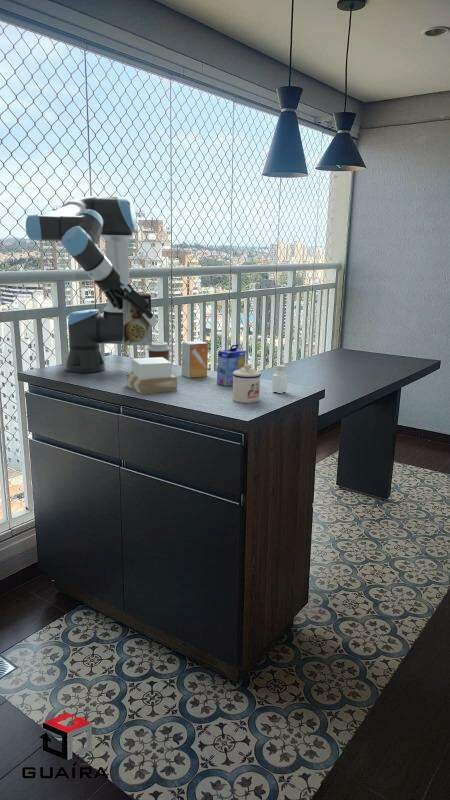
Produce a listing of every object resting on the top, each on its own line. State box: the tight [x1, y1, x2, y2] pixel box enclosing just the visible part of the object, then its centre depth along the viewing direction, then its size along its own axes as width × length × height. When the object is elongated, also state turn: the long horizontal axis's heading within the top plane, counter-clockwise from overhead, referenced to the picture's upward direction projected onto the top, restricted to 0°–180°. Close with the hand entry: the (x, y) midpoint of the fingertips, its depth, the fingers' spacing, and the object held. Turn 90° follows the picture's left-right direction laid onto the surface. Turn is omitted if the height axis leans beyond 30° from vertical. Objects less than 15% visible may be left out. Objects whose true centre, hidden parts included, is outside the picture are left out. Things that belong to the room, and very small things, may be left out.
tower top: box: [131, 357, 173, 379], centre depth 192 cm, size 11×11×5 cm
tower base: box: [126, 372, 178, 395], centre depth 193 cm, size 13×13×5 cm
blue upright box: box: [216, 344, 247, 387], centre depth 202 cm, size 10×6×14 cm, turn 137°
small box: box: [181, 340, 209, 379], centre depth 213 cm, size 8×6×13 cm
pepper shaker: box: [271, 364, 288, 394], centre depth 191 cm, size 4×4×10 cm
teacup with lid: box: [231, 363, 262, 404], centre depth 181 cm, size 12×9×12 cm
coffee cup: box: [146, 341, 171, 361], centre depth 215 cm, size 9×9×12 cm
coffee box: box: [123, 293, 153, 346], centre depth 181 cm, size 9×6×16 cm
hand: (145, 322), depth 183 cm, fingers closed on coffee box, 10 cm apart
